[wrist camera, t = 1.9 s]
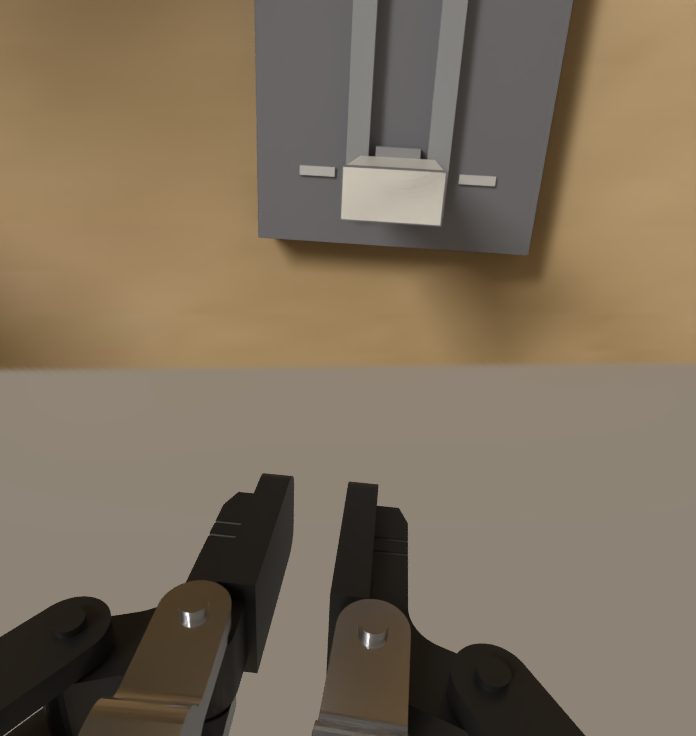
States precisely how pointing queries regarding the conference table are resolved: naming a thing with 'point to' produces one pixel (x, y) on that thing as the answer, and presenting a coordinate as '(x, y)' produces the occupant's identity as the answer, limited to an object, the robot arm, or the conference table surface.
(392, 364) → the conference table surface
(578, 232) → the conference table surface
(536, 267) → the conference table surface
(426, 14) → the grey slider track board
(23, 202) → the conference table surface
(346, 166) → the fader
